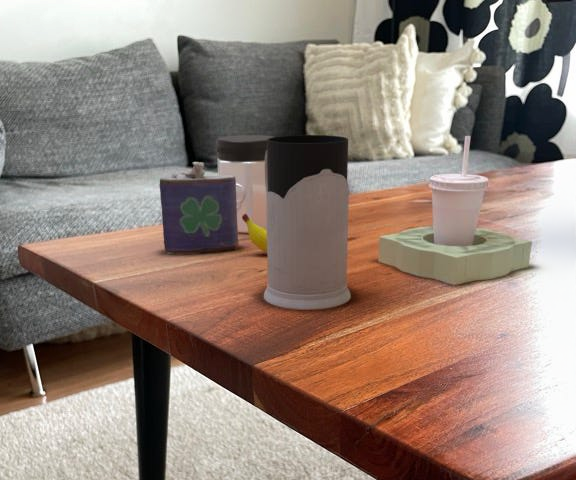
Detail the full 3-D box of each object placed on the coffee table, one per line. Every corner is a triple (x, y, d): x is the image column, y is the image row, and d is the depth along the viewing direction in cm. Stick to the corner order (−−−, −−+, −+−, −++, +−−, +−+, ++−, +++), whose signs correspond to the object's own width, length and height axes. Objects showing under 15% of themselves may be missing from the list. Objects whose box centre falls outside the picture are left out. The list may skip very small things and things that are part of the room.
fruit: (242, 257, 86) (240, 215, 84) (243, 252, 88) (242, 211, 86) (327, 257, 86) (327, 215, 84) (326, 253, 88) (327, 211, 86)
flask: (236, 245, 92) (233, 158, 87) (240, 251, 89) (237, 161, 85) (163, 250, 90) (156, 161, 85) (165, 256, 87) (158, 164, 83)
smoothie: (487, 271, 80) (502, 138, 74) (430, 272, 80) (441, 139, 74) (470, 256, 86) (482, 133, 80) (417, 257, 85) (425, 133, 80)
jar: (207, 231, 100) (202, 140, 95) (232, 219, 107) (229, 134, 102) (267, 235, 97) (265, 142, 92) (289, 223, 104) (288, 135, 99)
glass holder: (285, 314, 67) (283, 146, 61) (232, 276, 79) (226, 132, 73) (366, 302, 70) (373, 140, 64) (304, 267, 82) (304, 128, 76)
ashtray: (449, 245, 91) (451, 221, 90) (537, 267, 81) (540, 241, 80) (370, 261, 84) (371, 236, 83) (455, 288, 74) (457, 259, 73)
